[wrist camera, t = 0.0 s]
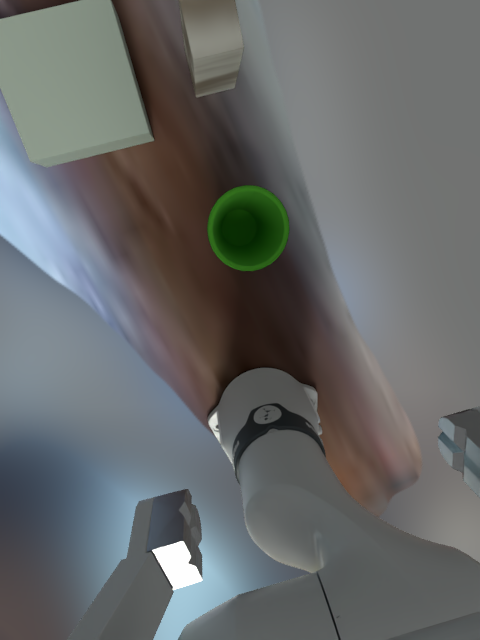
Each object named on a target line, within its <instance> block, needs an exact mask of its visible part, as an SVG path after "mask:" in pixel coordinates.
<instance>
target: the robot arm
mask: <svg viewBox="0 0 480 640" xmlns="http://www.w3.org/2000/svg"><path fill="white" fill-rule="evenodd" d="M319 422H320V418H319V415H318V413H317V392H316V390H315V388H313V387H312V386H309V385H306V384H302V383H300V382H298V381H297V380H296V379H294V378H293V377H292V376H291V375H289V374H288V373H286V372H284V371H281V370H278V369H274V368H257V369H253V370H250V371H247V372H245V373H243V374H241V375H239V376H238V377H236V378H235V379H234V380H233V381H232V382H231V383H230V384H229V385H228V386H227V388H226V389H225V391H224V393H223V395H222V397H221V400H220V402H219V404H218V406H217V407H216V408H215V409H214V410H213V411H212V412H211V413H210V415H209V416H208V424H209V426H210V428H211V429H212V431H213V433H214V434H215V436H216V438H217V439H218V441H219V443H220V444H221V446H222V449H224V451H225V453H226V454H227V456H228V458H229V459H230V461H231V463H232V464H233V468H234V470H235V475H236V478H237V481H238V483H239V484H240V489H241V496H242V503H243V511H244V518H245V524H246V527H247V530H248V532H249V534H250V536H251V538H252V539H253V541H254V542H255V543H256V544H257V545H258V547H259V548H261V549H262V550H263V551H264V552H265V553H266V554H267V555H269V556H270V557H271V558H273V559H275V560H276V561H278V562H280V563H283V564H286V565H289V566H292V567H296V568H300V569H303V570H305V571H308V572H310V573H311V574H308V575H304V576H301V577H298V578H294V579H291V580H287V581H284V582H280V583H277V584H273V585H270V586H267V587H263V588H260V589H256V590H253V591H249V592H246V593H243V594H239V595H237V596H235V597H234V598H232V599H230V600H228V601H226V602H224V603H223V604H221V605H219V606H217V607H215V608H214V609H212V610H210V611H209V612H207V613H205V614H204V615H202V616H200V617H199V618H197V619H196V620H194V621H192V622H191V623H189V624H187V625H186V627H185V628H184V629H183V631H182V633H181V635H180V637H179V638H178V640H480V563H479V562H478V561H476V560H475V559H473V558H472V557H470V556H469V555H467V554H466V553H464V552H462V551H460V550H458V549H456V548H454V547H450V546H446V545H442V544H438V543H434V542H431V541H428V540H424V539H421V538H419V537H416V536H414V535H411V534H409V533H406V532H404V531H402V530H400V529H398V528H396V527H394V526H392V525H390V524H389V523H387V522H385V521H383V520H382V519H380V518H379V517H377V516H375V515H374V514H372V513H371V512H369V511H368V510H367V509H365V508H364V507H363V506H361V505H360V504H359V503H358V502H357V501H356V500H354V499H353V498H352V497H351V496H350V495H349V494H348V492H347V491H346V490H345V489H344V487H343V486H342V484H341V483H340V481H339V480H338V478H337V477H336V475H335V473H334V472H333V470H332V468H331V467H330V465H329V463H328V461H327V460H326V456H325V450H324V447H323V442H322V439H321V438H320V437H319V435H320V434H322V428H321V426H320V425H319V424H318V423H319ZM216 425H218V426H216ZM438 427H439V428H440V429H441V430H442V431H443V432H442V433H441V434H440V436H439V437H438V446H439V449H440V452H441V454H442V456H443V457H444V459H445V461H446V462H447V463H448V464H449V465H450V466H451V467H452V468H453V469H455V470H457V471H460V472H462V473H463V481H464V482H465V483H466V484H467V485H468V486H469V487H470V488H471V489H472V490H473V492H475V494H476V495H477V496H478V497H479V498H480V406H479V407H475V408H472V409H468V410H464V411H461V412H457V413H454V414H451V415H447V416H444V417H441V418H440V420H439V426H438ZM191 497H192V496H191V494H190V492H189V490H188V489H185V490H181V491H177V492H173V493H169V494H165V495H161V496H157V497H153V498H150V499H146V500H142V501H139V503H138V505H137V506H136V510H135V516H134V521H133V526H132V532H131V537H130V543H129V548H128V553H127V558H126V559H123V560H121V561H120V563H119V564H118V566H117V567H116V569H115V570H114V572H113V573H112V575H111V576H110V578H109V579H108V580H107V582H106V583H105V585H104V586H103V588H102V589H101V591H100V592H99V594H98V595H97V597H96V598H95V599H94V601H93V602H92V604H91V605H90V607H89V608H88V610H87V611H86V613H85V614H84V616H83V617H82V618H81V620H80V621H79V623H78V624H77V626H76V627H75V629H74V630H73V632H72V633H71V635H70V636H69V637H68V639H67V640H153V638H154V636H155V634H156V631H157V629H158V627H159V624H160V622H161V620H162V618H163V615H164V613H165V611H166V608H167V606H168V604H169V601H170V599H171V597H172V595H173V590H174V589H177V588H180V587H184V586H187V585H190V584H193V583H196V582H199V581H201V580H202V554H201V552H200V550H199V548H198V545H199V543H200V542H201V539H202V535H201V523H200V517H199V514H198V510H197V508H196V506H195V505H193V504H191Z"/></svg>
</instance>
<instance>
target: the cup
mask: <svg viewBox="0 0 480 640" xmlns="http://www.w3.org/2000/svg"><path fill="white" fill-rule="evenodd" d="M207 232H208V239H209V242H210V245H211V248H212V250H213V251H214V253H215V254H216V256H217V257H218V258H219V259H220V260H221V261H222V262H223V263H224V264H226V265H228V266H230V267H231V268H233V269H237V270H241V271H255V270H259V269H262V268H264V267H266V266H268V265H270V264H271V263H272V262H274V261H275V260H276V259H277V258H278V257H279V256H280V254H281V253H282V252H283V250H284V248H285V246H286V243H287V241H288V235H289V219H288V216H287V212H286V210H285V208H284V206H283V204H282V203H281V201H280V200H279V199H278V198H277V197H276V196H275V195H274V194H273V193H271V192H270V191H268V190H266V189H265V188H261V187H258V186H252V185H244V186H240V187H235V188H233V189H231V190H229V191H227V192H226V193H225V194H223V195H222V196H221V197H220V198H219V199H218V200H217V202H216V203H215V205H214V206H213V208H212V210H211V212H210V215H209V218H208V226H207Z"/></svg>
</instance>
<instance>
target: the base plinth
mask: <svg viewBox="0 0 480 640" xmlns="http://www.w3.org/2000/svg"><path fill="white" fill-rule="evenodd" d="M0 88H1V91H2V93H3V95H4V98H5V100H6V103H7V105H8V108H9V110H10V113H11V115H12V118H13V120H14V122H15V125H16V127H17V130H18V132H19V135H20V137H21V140H22V142H23V144H24V147H25V149H26V152H27V154H28V157H29V159H30V162H33V163H36V164H39V165H42V166H45V167H50V166H54V165H58V164H62V163H66V162H70V161H74V160H78V159H82V158H86V157H91V156H95V155H99V154H103V153H107V152H111V151H115V150H119V149H123V148H127V147H131V146H135V145H139V144H143V143H147V142H151V141H154V138H153V134H152V131H151V127H150V124H149V120H148V117H147V113H146V110H145V107H144V103H143V100H142V96H141V93H140V89H139V86H138V82H137V79H136V76H135V72H134V69H133V65H132V62H131V58H130V55H129V52H128V48H127V45H126V41H125V38H124V34H123V31H122V27H121V24H120V21H119V17H118V15H117V12H116V10H115V8H114V5H113V3H112V1H111V0H80V1H76V2H72V3H67V4H63V5H59V6H54V7H50V8H46V9H42V10H37V11H33V12H29V13H24V14H20V15H16V16H11V17H7V18H3V19H0Z"/></svg>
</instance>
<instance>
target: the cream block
mask: <svg viewBox="0 0 480 640" xmlns="http://www.w3.org/2000/svg"><path fill="white" fill-rule="evenodd" d="M179 7H180V16H181V24H182V33H183V41H184V50H185V54H186V58H187V62H188V67H189V71H190V75H191V79H192V83H193V87H194V91H195V95H196V98H197V97H201V96H205V95H210V94H214V93H218V92H222V91H226V90H230V89H234V88H235V85H236V80H237V76H238V72H239V67H240V63H241V58H242V54H243V50H244V45H243V39H242V34H241V29H240V24H239V19H238V14H237V9H236V3H235V0H179Z"/></svg>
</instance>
